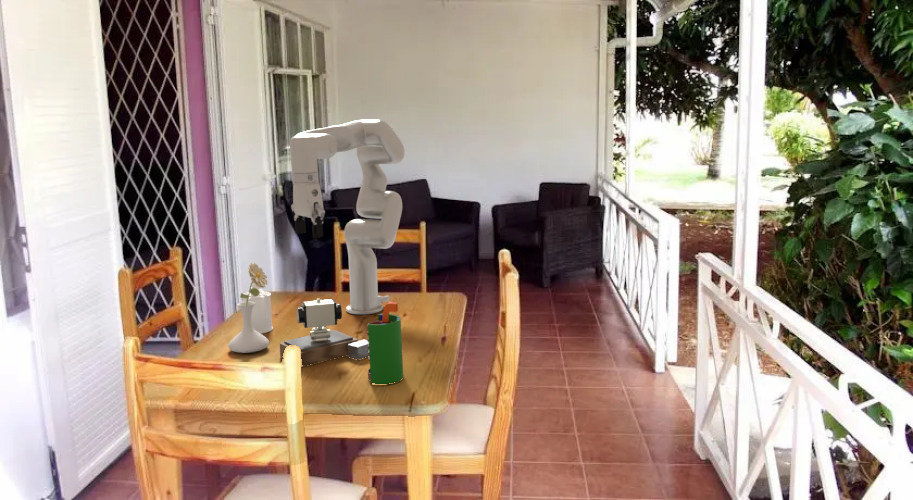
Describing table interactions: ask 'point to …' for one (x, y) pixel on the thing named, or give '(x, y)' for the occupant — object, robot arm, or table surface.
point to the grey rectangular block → (358, 349)
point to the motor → (385, 347)
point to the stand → (320, 347)
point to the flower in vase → (248, 336)
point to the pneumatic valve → (319, 317)
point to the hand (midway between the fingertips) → (309, 235)
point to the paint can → (260, 310)
